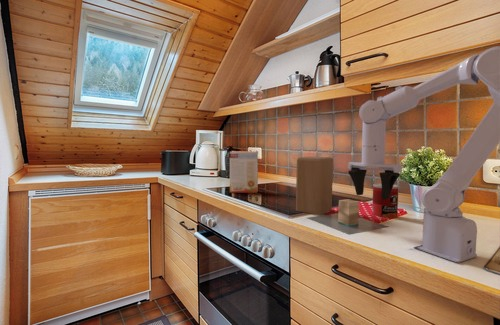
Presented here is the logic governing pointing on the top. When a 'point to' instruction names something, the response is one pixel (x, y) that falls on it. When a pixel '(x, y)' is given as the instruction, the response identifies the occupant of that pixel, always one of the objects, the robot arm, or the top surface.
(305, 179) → the block
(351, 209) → the beech block
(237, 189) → the cracker box
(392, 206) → the canned food
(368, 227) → the slate board
